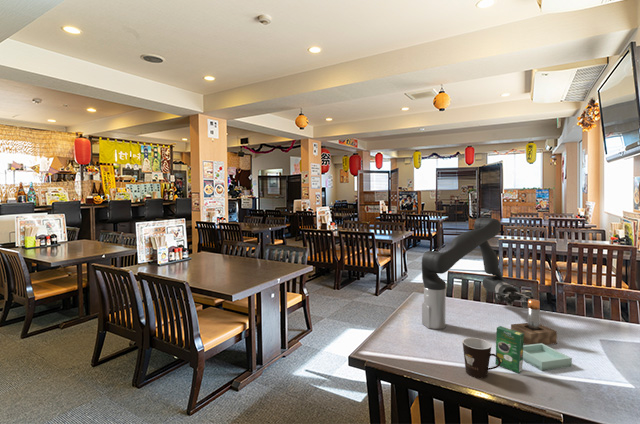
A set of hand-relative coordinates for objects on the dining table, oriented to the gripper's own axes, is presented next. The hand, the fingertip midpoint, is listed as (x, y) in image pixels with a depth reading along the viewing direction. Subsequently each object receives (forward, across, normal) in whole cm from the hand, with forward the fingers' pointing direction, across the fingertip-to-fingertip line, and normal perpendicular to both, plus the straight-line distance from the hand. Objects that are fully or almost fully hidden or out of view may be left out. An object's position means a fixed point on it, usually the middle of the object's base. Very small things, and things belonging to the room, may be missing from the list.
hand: (521, 302), depth 147 cm
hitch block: (+11, 0, +12) cm, 16 cm away
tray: (+29, -5, +12) cm, 32 cm away
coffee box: (+36, -19, +12) cm, 42 cm away
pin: (+11, 0, +12) cm, 16 cm away
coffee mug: (+42, -30, +12) cm, 53 cm away
